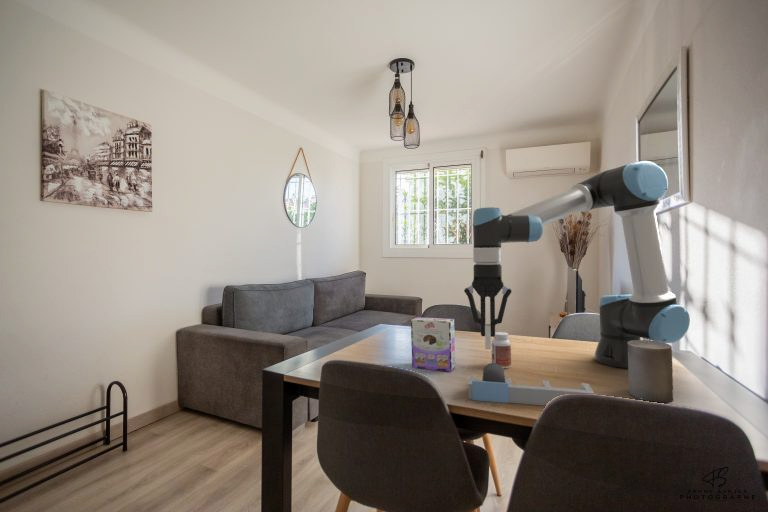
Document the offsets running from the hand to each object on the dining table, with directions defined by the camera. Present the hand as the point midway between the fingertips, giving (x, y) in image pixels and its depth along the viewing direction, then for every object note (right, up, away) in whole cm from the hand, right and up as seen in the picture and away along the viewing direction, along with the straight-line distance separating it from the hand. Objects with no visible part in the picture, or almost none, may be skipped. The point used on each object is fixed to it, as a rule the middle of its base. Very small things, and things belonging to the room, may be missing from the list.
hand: (488, 347), depth 106 cm
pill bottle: (+10, -12, +22) cm, 27 cm away
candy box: (-12, -12, +22) cm, 28 cm away
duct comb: (+9, -12, -7) cm, 16 cm away
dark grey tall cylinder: (+1, -12, +1) cm, 12 cm away
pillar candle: (+41, -11, -6) cm, 43 cm away
